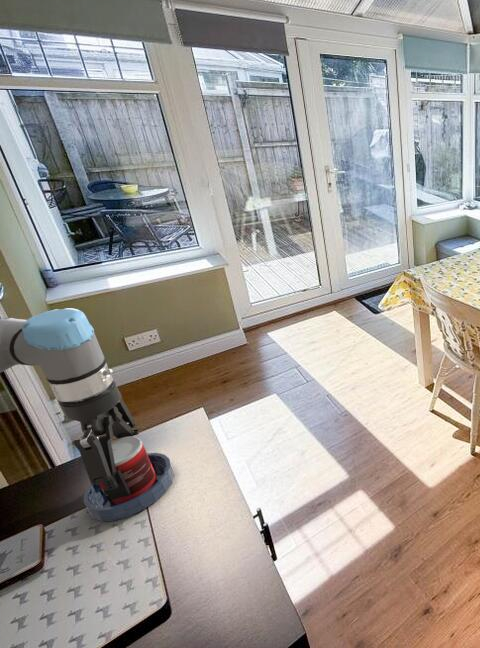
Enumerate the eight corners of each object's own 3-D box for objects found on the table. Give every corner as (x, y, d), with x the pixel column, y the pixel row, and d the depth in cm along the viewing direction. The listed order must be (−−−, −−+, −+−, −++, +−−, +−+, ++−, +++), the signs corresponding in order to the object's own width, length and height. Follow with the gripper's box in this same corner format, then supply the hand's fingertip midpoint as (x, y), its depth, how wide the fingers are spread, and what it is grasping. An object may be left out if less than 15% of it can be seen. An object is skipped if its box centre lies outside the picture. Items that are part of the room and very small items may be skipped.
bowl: (77, 533, 77) (70, 520, 76) (105, 476, 88) (99, 464, 87) (165, 507, 82) (160, 495, 81) (181, 456, 93) (177, 445, 92)
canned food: (118, 480, 87) (99, 441, 83) (163, 469, 90) (148, 431, 85) (100, 512, 80) (78, 472, 76) (150, 500, 83) (132, 460, 79)
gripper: (89, 423, 68) (134, 516, 77) (132, 354, 85) (165, 437, 94) (27, 436, 65) (82, 531, 74) (84, 362, 82) (123, 447, 91)
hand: (128, 478), depth 84 cm, fingers closed on canned food, 8 cm apart
